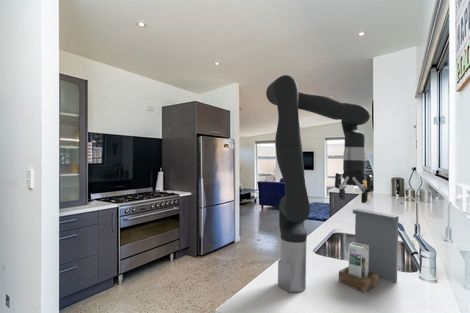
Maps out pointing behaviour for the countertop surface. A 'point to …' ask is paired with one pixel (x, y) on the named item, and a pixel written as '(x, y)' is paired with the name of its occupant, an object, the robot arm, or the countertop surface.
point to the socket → (359, 280)
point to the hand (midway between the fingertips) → (352, 201)
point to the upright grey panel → (379, 241)
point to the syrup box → (358, 260)
